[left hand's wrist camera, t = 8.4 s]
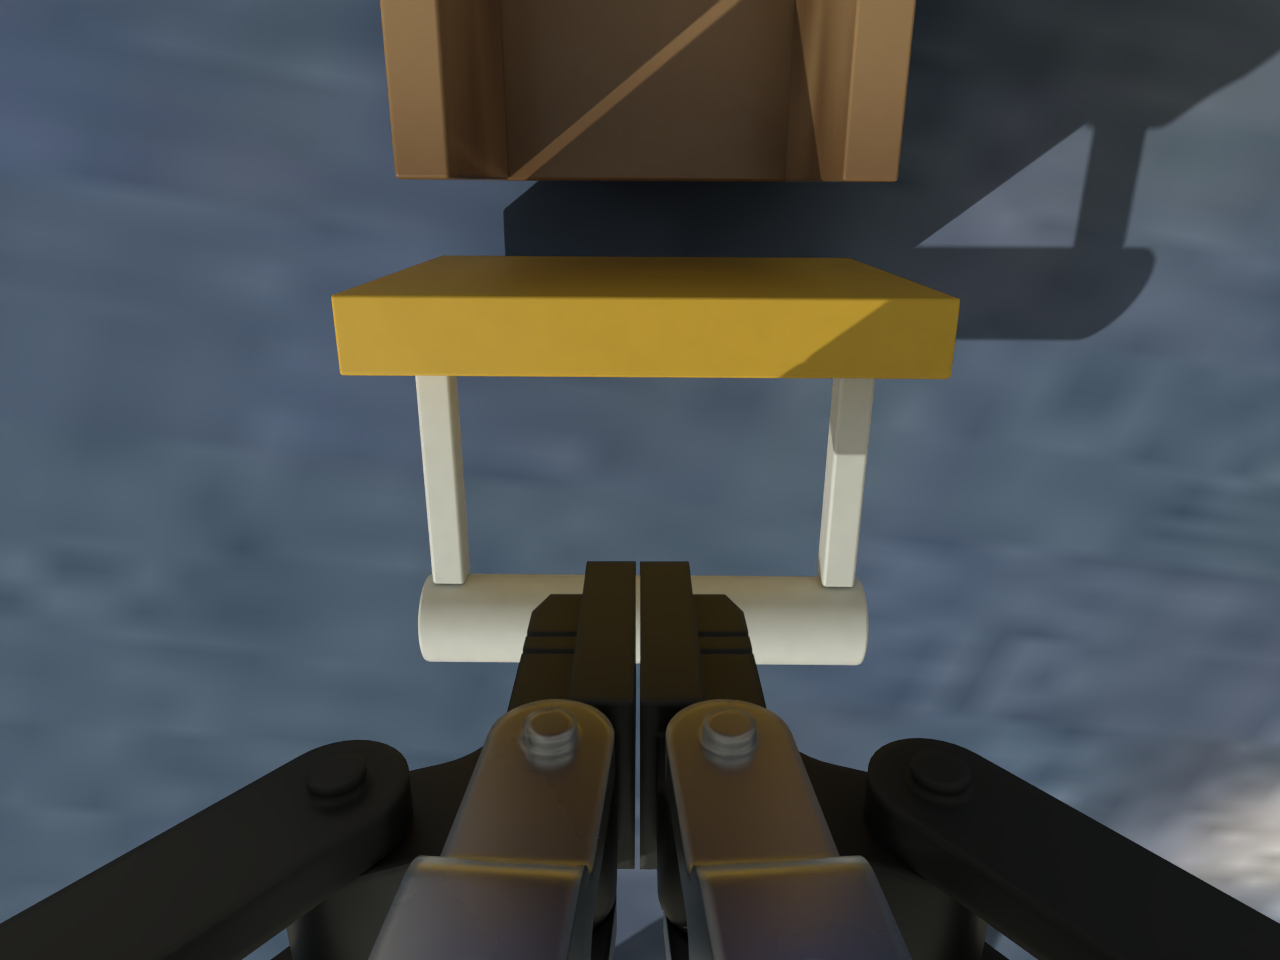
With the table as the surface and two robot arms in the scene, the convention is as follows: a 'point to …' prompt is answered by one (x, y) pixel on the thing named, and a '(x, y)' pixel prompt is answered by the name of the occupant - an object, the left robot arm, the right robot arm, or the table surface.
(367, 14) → the table surface
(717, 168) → the drawer
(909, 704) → the table surface
